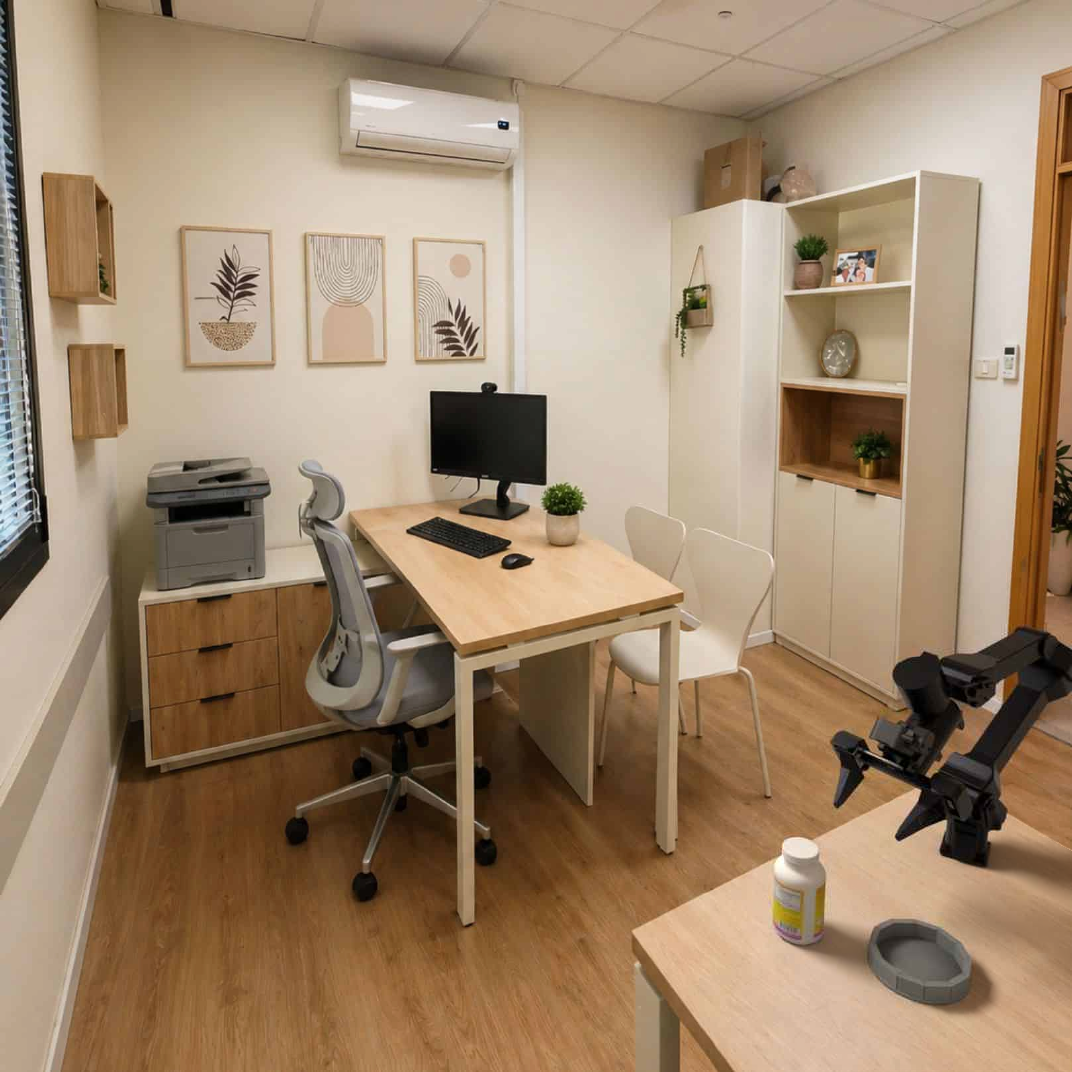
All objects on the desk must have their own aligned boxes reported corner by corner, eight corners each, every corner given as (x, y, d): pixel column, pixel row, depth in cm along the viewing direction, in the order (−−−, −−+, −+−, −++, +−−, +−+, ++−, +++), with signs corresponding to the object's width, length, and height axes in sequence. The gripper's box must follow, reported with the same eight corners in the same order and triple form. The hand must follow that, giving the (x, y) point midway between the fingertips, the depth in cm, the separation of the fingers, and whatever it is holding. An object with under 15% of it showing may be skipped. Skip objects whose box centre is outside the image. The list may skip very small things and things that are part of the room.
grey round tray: (878, 921, 113) (879, 906, 112) (976, 955, 106) (978, 938, 106) (857, 979, 103) (858, 963, 103) (964, 1020, 97) (966, 1002, 96)
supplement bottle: (812, 911, 115) (816, 830, 112) (830, 945, 109) (835, 861, 106) (765, 914, 115) (768, 833, 112) (781, 948, 109) (784, 864, 106)
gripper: (849, 675, 117) (787, 760, 113) (979, 724, 103) (915, 824, 98) (871, 720, 123) (813, 802, 119) (997, 773, 108) (937, 869, 104)
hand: (864, 822), depth 110 cm, fingers open, 9 cm apart
